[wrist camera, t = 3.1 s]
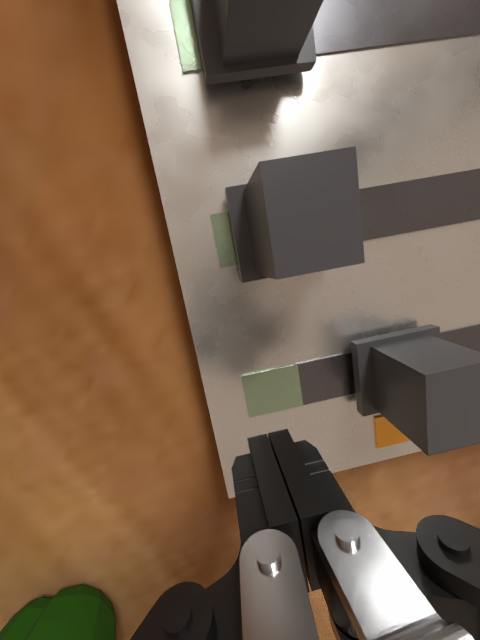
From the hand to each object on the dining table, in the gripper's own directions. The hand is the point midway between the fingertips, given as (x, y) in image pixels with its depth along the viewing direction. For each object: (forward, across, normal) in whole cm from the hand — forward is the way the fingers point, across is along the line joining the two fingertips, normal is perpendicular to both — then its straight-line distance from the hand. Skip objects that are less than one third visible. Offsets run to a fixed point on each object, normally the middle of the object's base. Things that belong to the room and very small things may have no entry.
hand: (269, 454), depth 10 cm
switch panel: (+7, -8, -8) cm, 13 cm away
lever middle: (+4, -3, -8) cm, 9 cm away
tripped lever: (+4, -8, 0) cm, 9 cm away
